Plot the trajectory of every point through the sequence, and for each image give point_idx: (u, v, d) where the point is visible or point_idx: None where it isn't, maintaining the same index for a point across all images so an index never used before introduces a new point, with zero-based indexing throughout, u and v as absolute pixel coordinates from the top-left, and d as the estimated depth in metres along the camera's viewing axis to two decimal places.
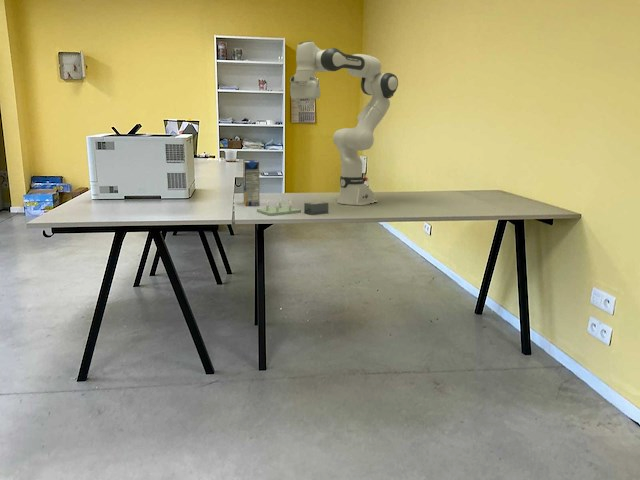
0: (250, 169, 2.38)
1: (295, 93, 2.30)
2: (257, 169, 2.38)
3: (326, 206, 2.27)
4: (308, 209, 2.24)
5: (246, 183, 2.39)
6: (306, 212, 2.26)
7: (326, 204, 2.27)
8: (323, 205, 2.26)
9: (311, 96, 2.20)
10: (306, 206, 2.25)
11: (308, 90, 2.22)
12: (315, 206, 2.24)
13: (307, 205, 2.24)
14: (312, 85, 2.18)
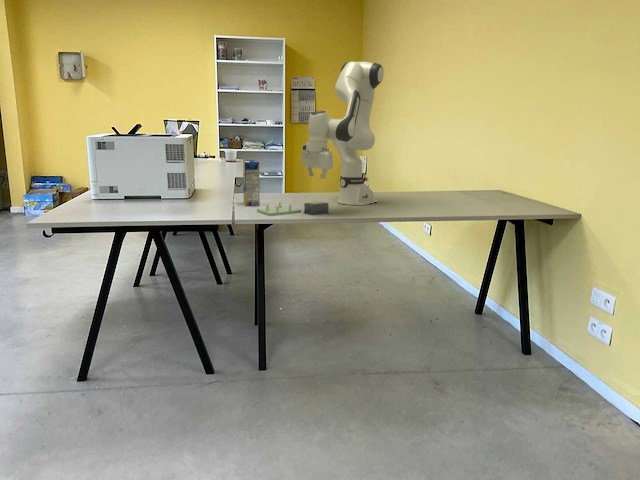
0: (250, 169, 2.38)
1: (307, 161, 2.25)
2: (257, 169, 2.38)
3: (326, 206, 2.27)
4: (308, 209, 2.24)
5: (246, 183, 2.39)
6: (306, 212, 2.26)
7: (326, 204, 2.27)
8: (323, 205, 2.26)
9: (324, 167, 2.16)
10: (306, 206, 2.25)
11: (320, 161, 2.17)
12: (315, 206, 2.24)
13: (307, 205, 2.24)
14: (325, 157, 2.14)
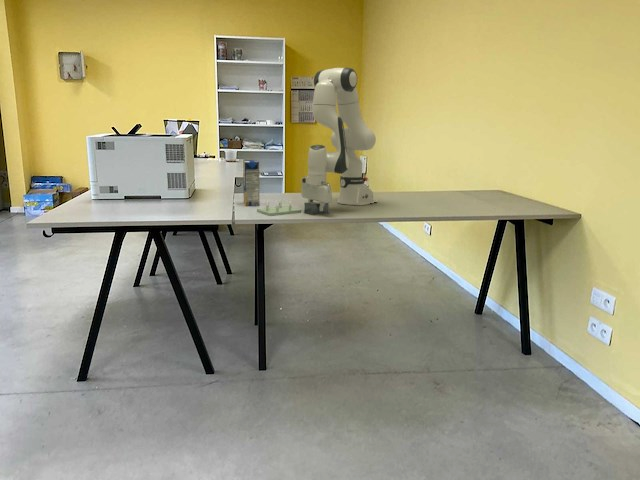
0: (250, 169, 2.38)
1: (307, 193, 2.29)
2: (257, 169, 2.38)
3: (326, 206, 2.27)
4: (309, 209, 2.24)
5: (246, 183, 2.39)
6: (306, 212, 2.26)
7: (326, 204, 2.27)
8: None
9: (323, 201, 2.20)
10: (306, 206, 2.25)
11: (320, 194, 2.21)
12: (315, 206, 2.24)
13: (307, 205, 2.24)
14: (324, 191, 2.18)
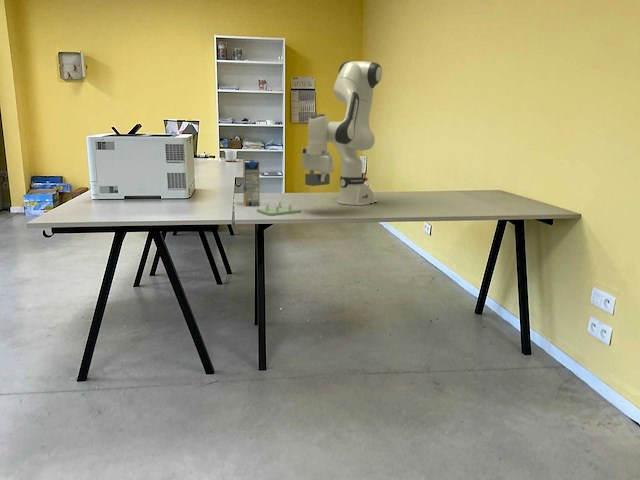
0: (250, 169, 2.38)
1: (307, 164, 2.26)
2: (257, 169, 2.38)
3: (327, 176, 2.24)
4: (309, 180, 2.21)
5: (246, 183, 2.39)
6: (307, 183, 2.23)
7: (327, 174, 2.24)
8: None
9: (324, 171, 2.16)
10: (307, 177, 2.22)
11: (321, 164, 2.18)
12: (316, 176, 2.21)
13: (308, 175, 2.21)
14: (325, 160, 2.14)
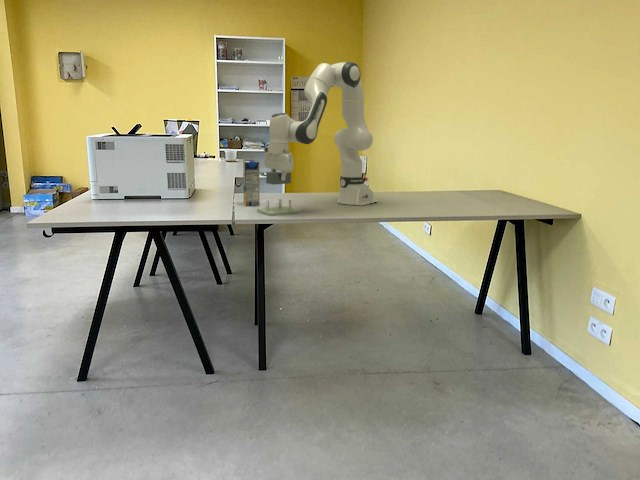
0: (250, 169, 2.38)
1: (269, 163, 2.26)
2: (257, 169, 2.38)
3: (288, 175, 2.24)
4: (270, 178, 2.21)
5: (246, 183, 2.39)
6: (268, 181, 2.23)
7: (288, 173, 2.24)
8: None
9: (284, 169, 2.16)
10: (268, 175, 2.22)
11: (281, 163, 2.18)
12: (277, 175, 2.20)
13: (269, 174, 2.21)
14: (285, 159, 2.15)
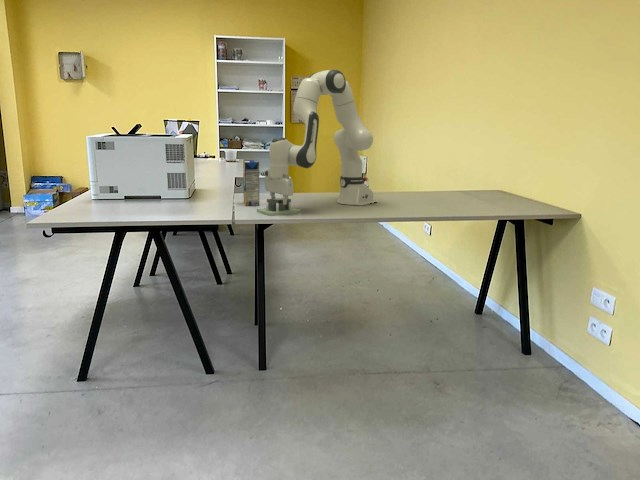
0: (250, 169, 2.38)
1: (269, 186, 2.29)
2: (257, 169, 2.38)
3: None
4: (270, 205, 2.24)
5: (246, 183, 2.39)
6: None
7: (289, 200, 2.27)
8: None
9: (284, 194, 2.19)
10: None
11: (281, 187, 2.20)
12: (277, 202, 2.24)
13: (269, 201, 2.25)
14: (285, 184, 2.17)
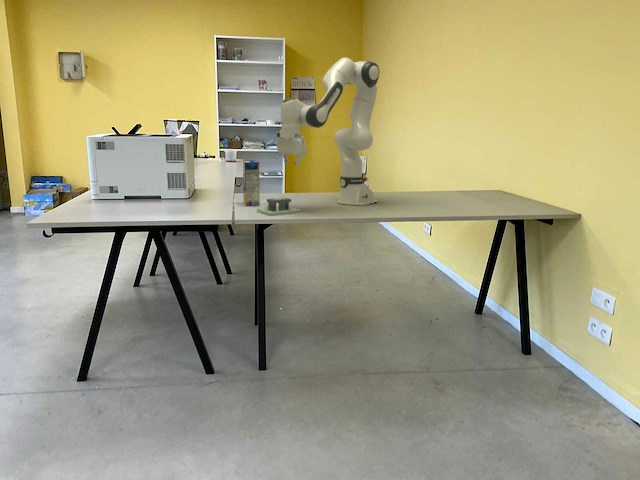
0: (250, 169, 2.38)
1: (282, 148, 2.30)
2: (257, 169, 2.38)
3: None
4: (270, 205, 2.24)
5: (246, 183, 2.39)
6: None
7: (289, 200, 2.27)
8: (285, 201, 2.26)
9: (297, 153, 2.21)
10: None
11: (294, 147, 2.22)
12: (277, 202, 2.24)
13: (269, 201, 2.25)
14: (298, 143, 2.19)
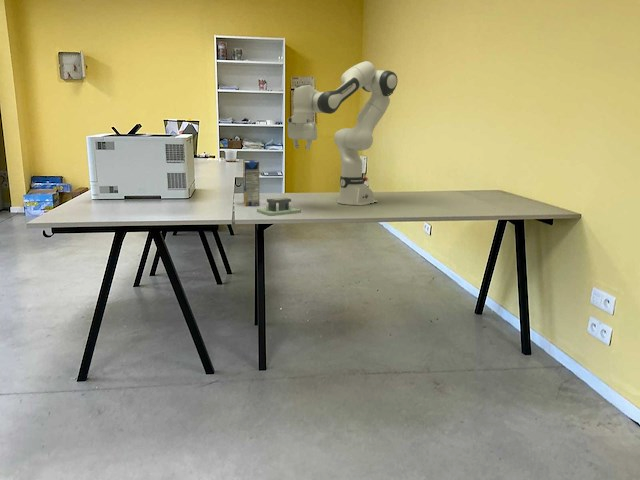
0: (250, 169, 2.38)
1: (293, 133, 2.34)
2: (257, 169, 2.38)
3: None
4: (270, 205, 2.24)
5: (246, 183, 2.39)
6: None
7: (289, 200, 2.27)
8: (285, 201, 2.26)
9: (308, 138, 2.24)
10: None
11: (305, 132, 2.25)
12: (277, 202, 2.24)
13: (269, 201, 2.25)
14: (309, 128, 2.22)
